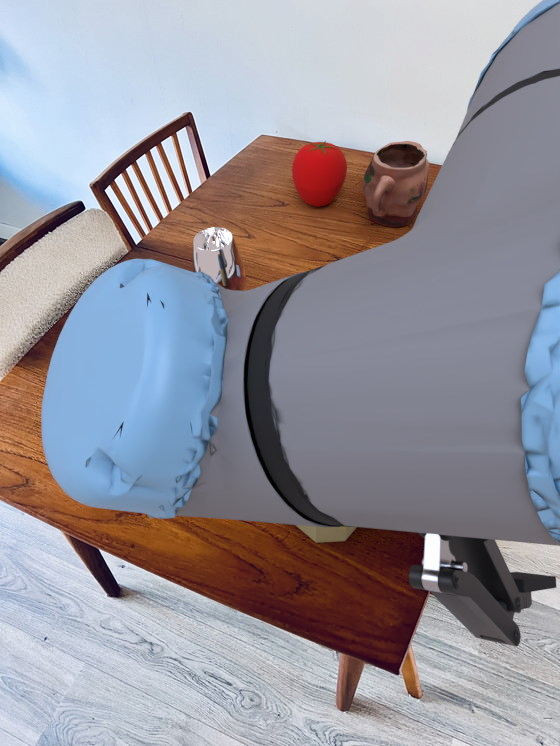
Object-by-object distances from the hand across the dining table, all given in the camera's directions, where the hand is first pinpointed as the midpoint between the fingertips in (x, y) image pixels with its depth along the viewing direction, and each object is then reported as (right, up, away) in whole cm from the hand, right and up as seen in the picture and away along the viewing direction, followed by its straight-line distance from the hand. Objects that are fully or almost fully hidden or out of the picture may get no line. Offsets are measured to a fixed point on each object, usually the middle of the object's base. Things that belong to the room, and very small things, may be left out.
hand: (531, 485), depth 40 cm
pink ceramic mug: (+3, +40, +67) cm, 78 cm away
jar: (-13, -9, +26) cm, 31 cm away
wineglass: (-28, +14, +47) cm, 57 cm away
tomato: (-11, +46, +73) cm, 87 cm away
